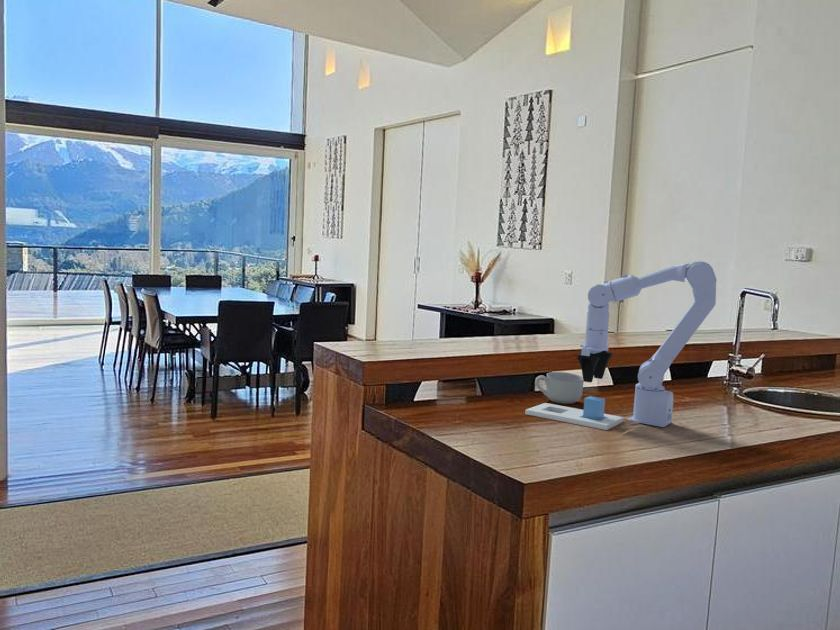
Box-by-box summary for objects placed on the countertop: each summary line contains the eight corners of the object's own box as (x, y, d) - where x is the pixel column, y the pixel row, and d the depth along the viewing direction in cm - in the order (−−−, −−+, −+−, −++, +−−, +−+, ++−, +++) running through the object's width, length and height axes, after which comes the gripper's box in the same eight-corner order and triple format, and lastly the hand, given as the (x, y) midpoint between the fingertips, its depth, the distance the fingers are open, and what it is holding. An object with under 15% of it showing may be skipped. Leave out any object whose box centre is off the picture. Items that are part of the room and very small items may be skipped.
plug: (603, 421, 182) (605, 398, 182) (597, 424, 179) (599, 400, 178) (588, 418, 184) (590, 396, 184) (582, 421, 181) (584, 398, 181)
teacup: (579, 400, 210) (581, 373, 209) (584, 408, 199) (586, 380, 199) (532, 396, 211) (534, 370, 211) (534, 404, 201) (536, 376, 200)
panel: (623, 423, 183) (623, 417, 183) (606, 431, 174) (607, 425, 173) (544, 408, 196) (545, 402, 196) (525, 415, 186) (525, 409, 186)
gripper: (592, 326, 197) (589, 374, 199) (572, 329, 186) (568, 381, 187) (617, 329, 193) (613, 378, 195) (598, 332, 182) (593, 385, 183)
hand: (593, 380), depth 191 cm, fingers open, 7 cm apart
